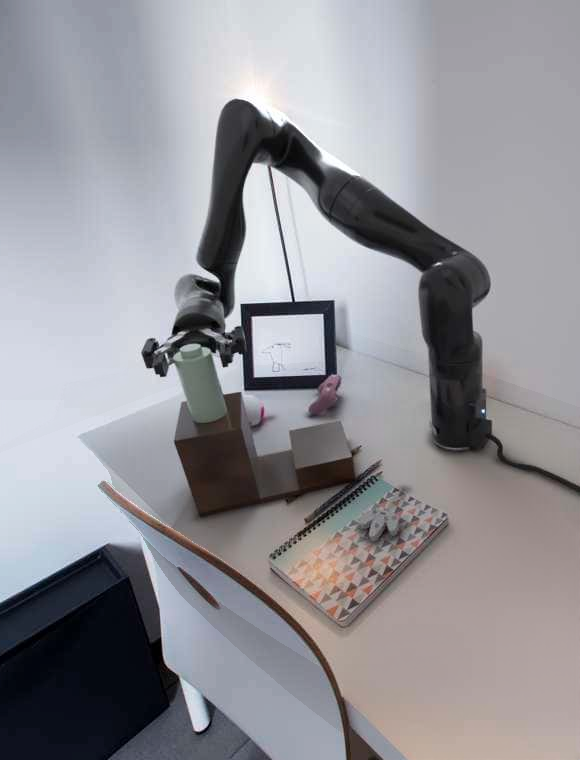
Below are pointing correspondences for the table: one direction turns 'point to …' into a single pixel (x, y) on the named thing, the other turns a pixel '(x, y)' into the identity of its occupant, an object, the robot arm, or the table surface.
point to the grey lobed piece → (380, 522)
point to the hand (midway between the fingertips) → (193, 366)
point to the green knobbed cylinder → (200, 383)
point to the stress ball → (253, 409)
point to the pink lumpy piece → (326, 394)
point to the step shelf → (256, 460)
